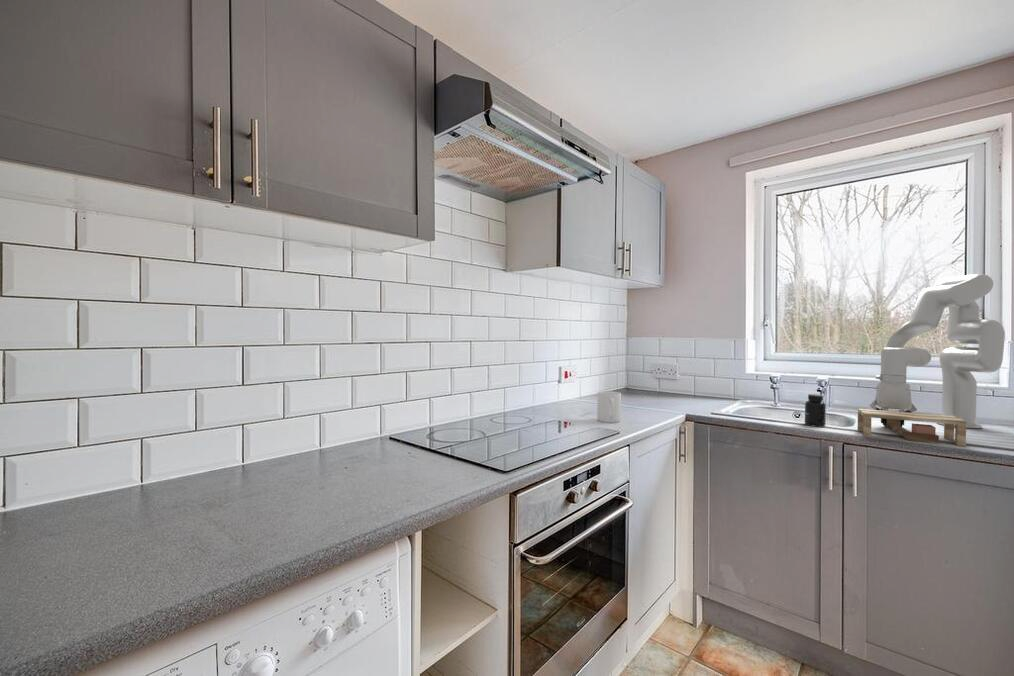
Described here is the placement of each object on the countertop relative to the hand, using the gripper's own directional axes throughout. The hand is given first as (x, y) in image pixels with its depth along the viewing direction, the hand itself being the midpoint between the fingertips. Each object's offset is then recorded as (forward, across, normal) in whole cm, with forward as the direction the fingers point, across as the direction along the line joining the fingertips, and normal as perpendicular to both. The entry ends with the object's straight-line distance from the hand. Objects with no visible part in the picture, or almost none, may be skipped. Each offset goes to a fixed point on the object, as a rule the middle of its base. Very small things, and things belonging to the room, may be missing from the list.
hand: (892, 425), depth 169 cm
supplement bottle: (+1, -26, -10) cm, 27 cm away
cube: (+1, +4, -19) cm, 20 cm away
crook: (+1, +2, -11) cm, 11 cm away
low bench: (+1, 0, -19) cm, 19 cm away
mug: (+1, -98, -47) cm, 109 cm away
